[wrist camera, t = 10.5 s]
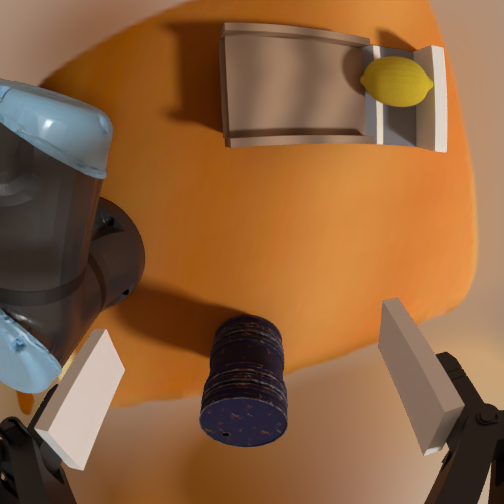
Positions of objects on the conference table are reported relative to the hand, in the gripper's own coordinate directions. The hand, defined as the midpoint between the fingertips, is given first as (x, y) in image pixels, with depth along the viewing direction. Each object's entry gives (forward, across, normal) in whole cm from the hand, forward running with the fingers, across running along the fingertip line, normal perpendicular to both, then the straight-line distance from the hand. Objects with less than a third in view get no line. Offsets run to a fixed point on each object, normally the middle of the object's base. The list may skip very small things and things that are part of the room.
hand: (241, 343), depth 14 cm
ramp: (+25, +7, +12) cm, 29 cm away
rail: (+25, +22, +11) cm, 35 cm away
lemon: (+19, +21, +12) cm, 31 cm away
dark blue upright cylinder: (+25, -3, -20) cm, 32 cm away
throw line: (+25, +16, +12) cm, 32 cm away
